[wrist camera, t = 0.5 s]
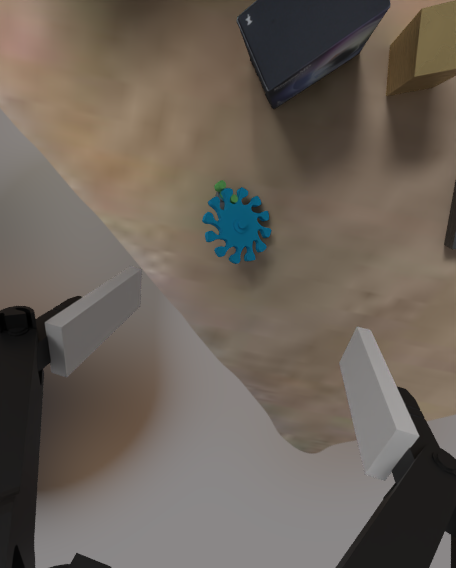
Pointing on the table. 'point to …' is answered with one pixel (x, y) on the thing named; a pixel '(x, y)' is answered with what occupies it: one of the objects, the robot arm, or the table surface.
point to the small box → (305, 40)
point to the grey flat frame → (452, 224)
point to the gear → (236, 223)
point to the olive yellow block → (424, 51)
